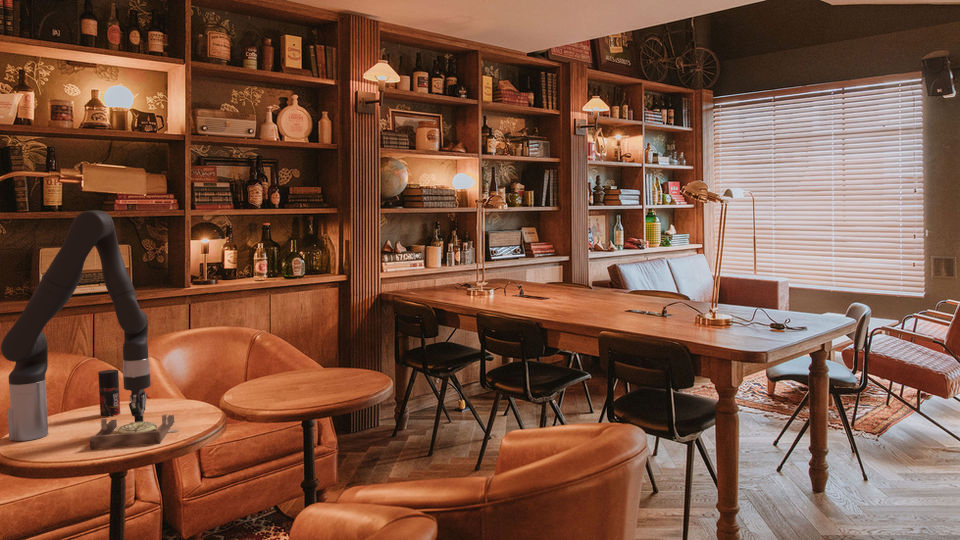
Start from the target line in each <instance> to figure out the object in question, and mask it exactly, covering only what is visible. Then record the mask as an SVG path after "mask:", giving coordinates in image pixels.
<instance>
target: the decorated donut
mask: <svg viewBox="0 0 960 540" xmlns="http://www.w3.org/2000/svg"><path fill="white" fill-rule="evenodd" d="M146 431H158V426H157V424H155V423H154V422H150V421H144V422H135V421H133V422H129V423H127V424H124V425H122V426H120V427H118V428H117V433H116V434H122V433H134V432H146Z"/></svg>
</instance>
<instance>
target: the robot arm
mask: <svg viewBox="0 0 960 540" xmlns="http://www.w3.org/2000/svg"><path fill="white" fill-rule="evenodd" d="M94 247H95V248H96V250H97V254H98V255H99V260H100V263H101V264H100V265H101V270H102V271H101V272H102V278H103V282H104V285H105V287H106V290H107V292H108V295H109V298H110V299H111V301H112V304H113V308H114V312H115V315H116V318H117V321H118V323H119V326H120V328H121V329H122V330H123V334H124V336H123V338H124V341H123V345H122V358H123V359H122V361H123V362H122V380H123V389H124V391H130V393H131V394H130V395H129V404H128V407H129V411H130V413H131V417H134V422H145V421H144V414H145V411H146V405H147V396H148V395H147V392H145V389H148V388H150V387H151V369H150V368H151V367H150V366H151V365H150V364H151V363H150V360H149V345H148V333H149V332H148V331H149V319H148V316H147V314H146V312H145V311H144V310H141V307H140V305H139V303H138V301H137V297H138V295H137V293H136V290H135V287H134V284H133V282H132V279H131V278H130V275H129V272H128V270H127V268H126V265H125V262H124V259H123V256H122V251H121V249H120V248H121V247H120V246H119V242H118V235H117V231H116V227H115V223H114V220H113V218H112V216H111V215H110V214H109V213H107V212H106V211H103V210H99V209H93V210H85V211H82V212H79V214H77V215H76V216H75V218H74V219H73V221H72V223H71V225H70V228H69V230H68V232H67V234H66V237H65V240H64V242H63V243H62V245H61V247H60V249H59V251H58V252H57V254H56V255H55V257H54V258H53V260H52V261H51V262H50V265H49V266H48V268H47V269H46V271H45V272H44V274H43V275H42V278H41V279H40V281H39V282H38V285H37V286H36V287H35V290H34V292H33V294H32V295H31V297H30V299H29V300H28V301H27V304H26V306H25V307H24V309H23V310H22V313H21V314H20V316H19V317H18V318H17V320H16V321H15V322H14V324H13V325H12V327H11V328H10V329H9V330H8V332H7V333H6V334H5V335H4V337H3V338H2V341H1V344H0V352H1V354H2V356H3V358H5V360H7V361H8V362H9V361H10V362H13V363H15V365H14V367H13V369H12V370H11V372H9V375H8V388H9V389H8V392H9V407H10V408H8V409H7V423H8V424H7V425H8V438H9V439H8V440H9V441H15V442H17V441H18V442H22V441H23V442H24V441H31V440H37V439H40V438H44V437H46V436H48V435H49V423H48V422H49V421H48V405H47V403H48V402H47V401H48V400H47V387H46V386H47V383H46V372H47V370H48V364H49V363H48V361H49V360H48V358H49V356H48V355H49V353H48V351H49V349H48V340H47V337H46V335H45V334H44V332H43V329H45V326H46V325H47V324H49V323H48V322H49V321H51V320H52V318H54V317H55V316H56V315H57V314H58V312H60V311H61V310H62V309H63V308H64V307H65V305H66V304H67V303H68V302H69V300H71V297H72V296H73V294H74V292H75V291H76V289H77V287H78V286H79V283H80V281H81V278H82V275H83V269H84V264H85V262H86V260H87V258H88V256H89V254H90V252H91V251H92V250H93V248H94Z"/></svg>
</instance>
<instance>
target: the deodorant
mask: <svg viewBox="0 0 960 540" xmlns="http://www.w3.org/2000/svg"><path fill="white" fill-rule="evenodd" d="M97 373H98V391H99V413H100V414H99V415H101V416H111V417H115V416H114V415H116V416H119V415H120V414H121V404H120V403H121V402H120V379H119V369H106V370H100V371H98V372H97ZM118 414H119V415H118ZM101 416H100V417H101Z"/></svg>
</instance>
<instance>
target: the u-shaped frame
mask: <svg viewBox="0 0 960 540" xmlns="http://www.w3.org/2000/svg"><path fill="white" fill-rule="evenodd" d="M117 423H118V422H117V419H110V421H108V422H107V418H102V419H101V420H100V427H101V428H100V430H99V431H98V432H97V433H96V434H95V435H91V436H90V437H89V450H90V449H91V450H100V449H99V448H102V449H113V448H121V447H124V448H125V447H133V446H146V445H156V444H157V445H159V444H161V443H162V441H163V439H164V438H165V437H166V435H167V434H169V432H171V433H178V432H177V430H178V429H171V428H172V427H173V425H174V424H173V423H175V415H174V414H171V415H170V414H169V415H168V413H165V414H162V415H161V425H160V426H159V429H157V431H146V432H134V433H122V434H118V433H113V432H114V429H115V428H116V427H118V424H117ZM171 426H172V427H171ZM170 427H171V428H170ZM116 429H117V428H116ZM116 429H115V430H116Z"/></svg>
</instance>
